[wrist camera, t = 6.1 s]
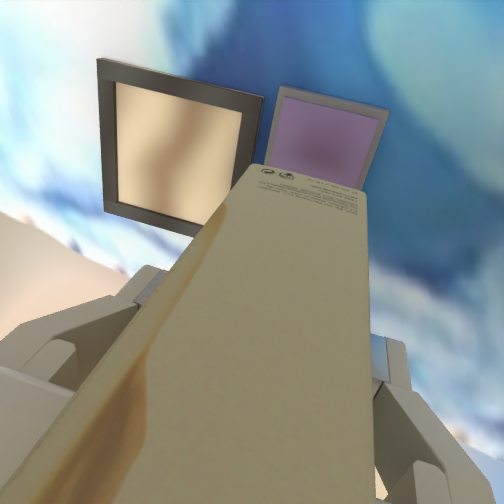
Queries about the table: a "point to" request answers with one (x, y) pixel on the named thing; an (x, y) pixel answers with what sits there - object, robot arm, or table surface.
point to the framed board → (171, 145)
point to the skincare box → (232, 367)
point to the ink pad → (324, 136)
